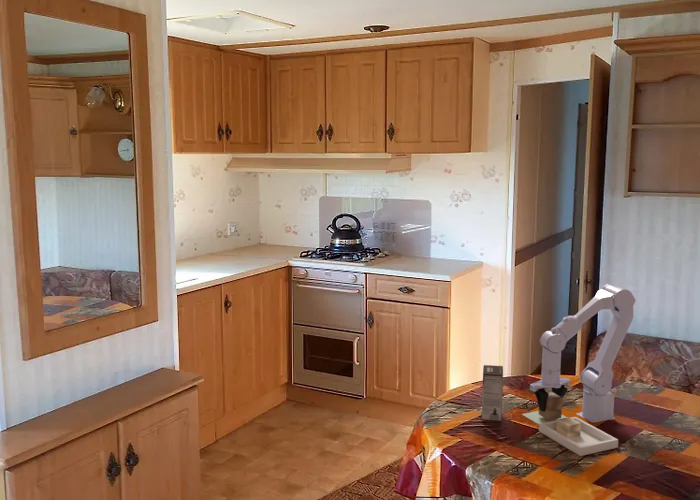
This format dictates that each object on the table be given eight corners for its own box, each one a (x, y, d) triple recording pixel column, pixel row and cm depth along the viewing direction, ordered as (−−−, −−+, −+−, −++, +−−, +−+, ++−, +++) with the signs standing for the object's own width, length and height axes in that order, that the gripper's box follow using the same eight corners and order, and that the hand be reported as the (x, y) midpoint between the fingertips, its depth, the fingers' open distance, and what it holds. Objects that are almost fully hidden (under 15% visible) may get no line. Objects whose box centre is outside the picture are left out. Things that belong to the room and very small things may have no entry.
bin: (574, 425, 209) (575, 416, 208) (617, 449, 192) (618, 439, 192) (538, 432, 203) (539, 423, 203) (580, 457, 187) (580, 448, 187)
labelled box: (550, 411, 215) (552, 391, 214) (561, 417, 211) (562, 397, 209) (538, 414, 213) (540, 393, 212) (548, 420, 209) (550, 399, 207)
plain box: (569, 429, 205) (569, 417, 204) (580, 435, 200) (581, 423, 199) (556, 431, 203) (556, 419, 202) (567, 438, 198) (568, 425, 198)
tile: (550, 410, 221) (551, 408, 220) (576, 424, 210) (576, 422, 209) (521, 416, 216) (521, 414, 216) (545, 430, 205) (545, 428, 205)
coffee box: (481, 410, 221) (483, 364, 219) (501, 411, 220) (502, 365, 217) (481, 421, 212) (483, 373, 210) (501, 422, 211) (503, 374, 209)
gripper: (540, 375, 204) (538, 417, 206) (577, 369, 209) (575, 410, 211) (526, 368, 210) (524, 409, 212) (562, 363, 216) (560, 402, 218)
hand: (549, 409), depth 212 cm, fingers closed on labelled box, 5 cm apart
